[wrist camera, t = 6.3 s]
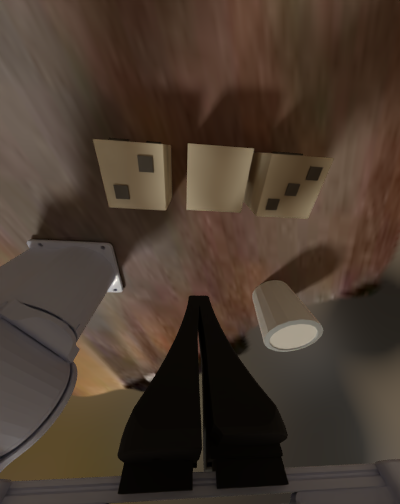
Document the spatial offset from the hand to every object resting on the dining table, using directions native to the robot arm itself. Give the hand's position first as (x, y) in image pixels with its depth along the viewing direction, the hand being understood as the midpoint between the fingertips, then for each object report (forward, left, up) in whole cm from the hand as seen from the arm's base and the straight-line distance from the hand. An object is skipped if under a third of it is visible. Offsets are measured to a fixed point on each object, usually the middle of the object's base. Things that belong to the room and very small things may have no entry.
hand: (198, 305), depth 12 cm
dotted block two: (-5, +7, -10) cm, 13 cm away
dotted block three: (+7, +7, -10) cm, 14 cm away
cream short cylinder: (+12, -9, -10) cm, 18 cm away
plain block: (+1, +8, -10) cm, 12 cm away
